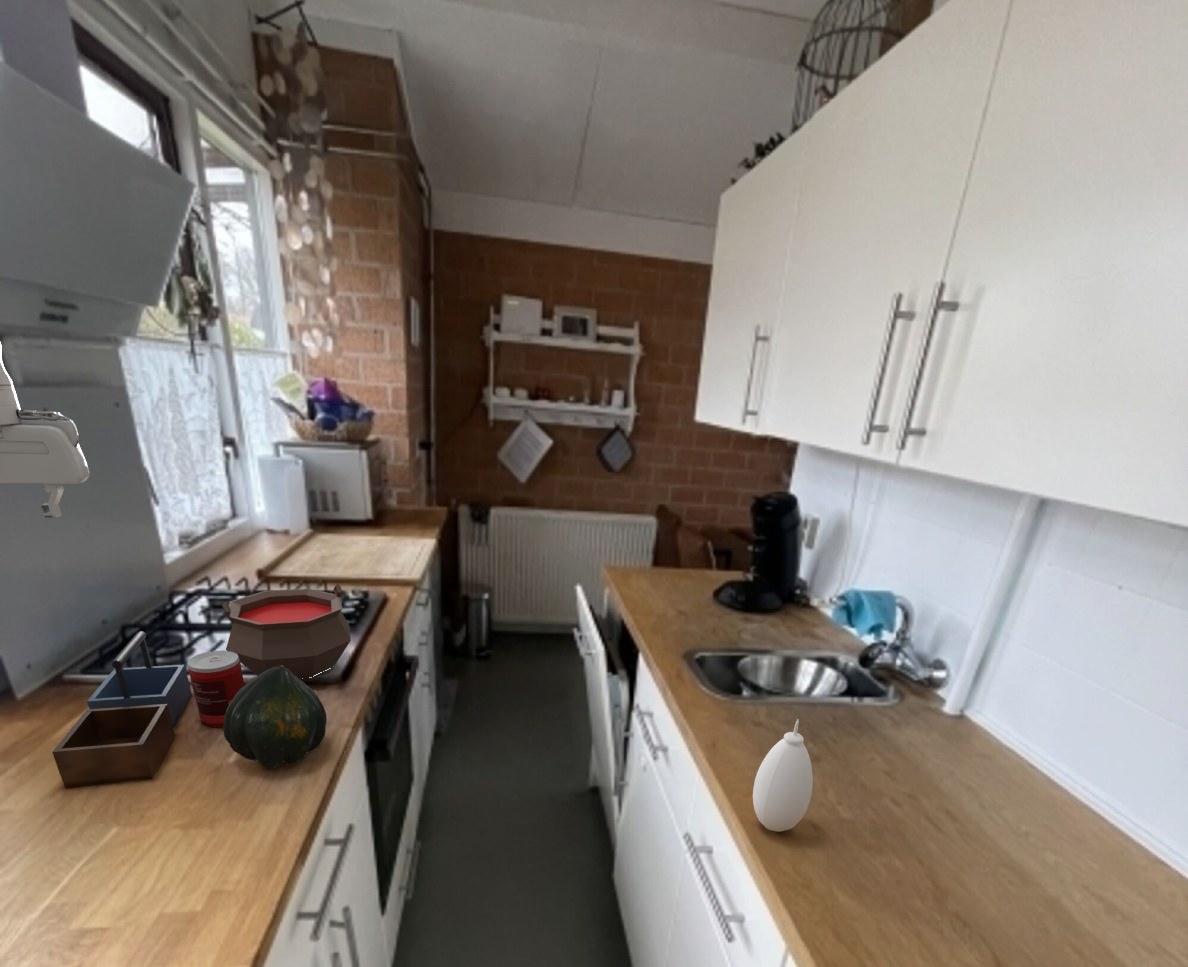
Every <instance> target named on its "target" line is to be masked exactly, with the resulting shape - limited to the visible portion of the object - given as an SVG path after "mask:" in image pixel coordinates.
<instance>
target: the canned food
mask: <svg viewBox="0 0 1188 967" xmlns="http://www.w3.org/2000/svg"><path fill="white" fill-rule="evenodd" d="M187 669H188V674H189V678H190V682H191V686H192V690H193V694H194V699H195V703H196V706H197V712H198V715H199V719H200V721H201V722H202V723H203V724H204V725H205V726H207V727H211V728H212V727H213V728H224V718H225V714H226V710H227V708H228V706H229V704H230V703H231V701H232V700H233V698H234V697H235V695H236V694H237V692H238V691H239V690H240V689H241V688H242V687H243V686H245V685H246V684H245V680H244V675H243V670H242V663H241V662H240V660H239V657H238V655H237V654H236V653H234V652H230V651H226V650H211V651H206V652H201V653H199V654H195V655H194V656H192V657H191V658H189V660H188V661H187Z"/></svg>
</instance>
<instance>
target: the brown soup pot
mask: <svg viewBox="0 0 1188 967" xmlns="http://www.w3.org/2000/svg"><path fill="white" fill-rule="evenodd" d="M333 591H334V593H331V592H326V591H322V590H317V589H313V588H295V589H294V588H293V589H273V590H272V589H271V590H264V591H260V592H257V593H254V594H250V595H247V596H243V597H240V598H237V599H234V600H231V601H229V603H228V602H227V601H223V602H222V604H221V610H222V613H223V615H224V617H226V618H227V619H228V620H229V621H230V622H232V624H231V625H232V626H231V630H230V632H229V637H228V640H227V644H226V647H225V651H230V652H234V653H236V654H237V655H238V657H239V660H240V664H241V665H244V667H246V668H247V669H248V670H249V671H250V672H251V673H253V674H254V675H255V676H256V677H257V676H259V675H260V674H262V673H263V672H265V671H267V670H269V669H271V668H274V667H279V666H281V665H282V666H284V667H285V668H287V669H288V670H290V671H291V672H292V673H293V674H294V675H295V676H296V677H297V678H298V679H300V680H301V681H302V682H304V683H305V682H306V683H307V682H311V681H314V680H316V679H318V678H320V677H322V676H324V675H326V674H328V673H331V672H332V671H333V669H334V667H335V666H336V664H338V661H339V660H340V658H341V657H342V656H343V654H344V652H345V651H346V649H347V648H348V646H349V644H350V643H351V641H352V638H351V630H350V624H349V622H348V621H347V619H346V617H345V616H344V614H343V612H342V610H343V605H342V604H343V603H342V594H343V589H342V587H341V584H339V583H336V584H335V585H334V587H333ZM333 666H334V667H333ZM332 667H333V668H332ZM329 668H331V669H329ZM327 669H329V670H327ZM325 670H327V671H325ZM323 671H324V672H323ZM320 672H322V673H320ZM318 673H320V674H318ZM316 674H318V675H316ZM314 675H316V676H314ZM313 676H314V677H313ZM309 677H312V678H309ZM302 678H303V679H302Z"/></svg>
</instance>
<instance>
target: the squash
mask: <svg viewBox="0 0 1188 967" xmlns="http://www.w3.org/2000/svg"><path fill="white" fill-rule="evenodd" d="M244 685H245V686H243V687H242V688H241V689H240V690H239V691H238V692H237V694H236V695H235V697H234V698H233V700H232V701H231V703H230V704H229V706H228V708H227V710H226V714H225V718H224V727H223V737H224V739H225V740H226V742H227V743H228V744H229V746H230V748H231V750H232V751H233V753H236V754H238V755H240V756H241V757H242V758H244V759H246V760H250V761H257V762H258V764H260V766H261V767H263V768H266V769H269V770H275V769H277V768H279V767H281V765H283V763H284V762H285V763H287V764H297V763H299V762H301V761H302V760H304V758H305V757H306V756H307V754H308V753H311V752H312V751H315V750H316V749H318V748H319V746H320V745H321V743H323V740H324V739H325V736H326V732H327V730H326V728H327V722H328V718H327V717H328V716H327V712H326V709H325V707H324V705H323V703H322V701H321V700H320V698H319V696H318V695H317V694H316V693H315V691H314V690H313V689H312V688H311V687H310V686H309V685H307V684H306V683H305V682H302V681H301V680H300V679H298V678H297V677H296V676H295V675H294V674H293V673H292V672H291V671H290V670H288V669H287V668H285V667H284V666H282V665H281V666H279V667H274V668H271V669H269V670H267V671H265V672H263V673H262V674H260V675H259V676H257V675H256V677H253V678H251V679H250V680H249V681H248V682H247V683H246V684H244Z"/></svg>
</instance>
